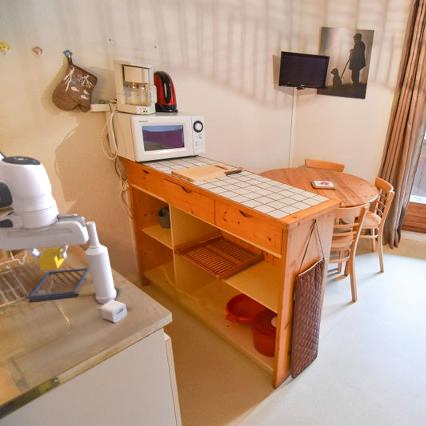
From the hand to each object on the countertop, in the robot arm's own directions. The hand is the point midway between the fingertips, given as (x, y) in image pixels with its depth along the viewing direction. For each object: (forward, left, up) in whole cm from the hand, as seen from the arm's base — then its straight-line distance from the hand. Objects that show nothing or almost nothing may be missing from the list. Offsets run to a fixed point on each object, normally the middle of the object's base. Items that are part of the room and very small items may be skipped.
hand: (51, 259), depth 92 cm
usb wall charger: (+17, -15, -11) cm, 25 cm away
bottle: (+14, -7, -11) cm, 19 cm away
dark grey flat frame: (0, +2, -11) cm, 11 cm away
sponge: (0, 0, -2) cm, 2 cm away
